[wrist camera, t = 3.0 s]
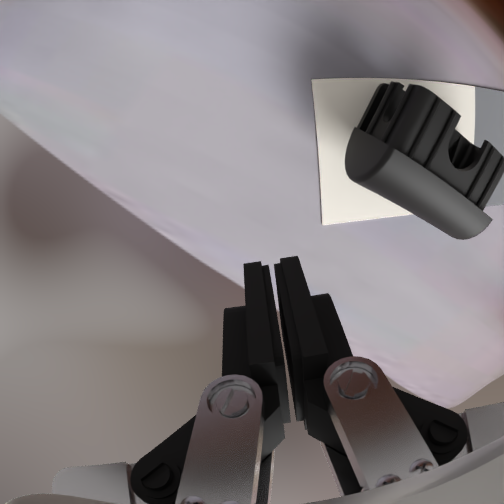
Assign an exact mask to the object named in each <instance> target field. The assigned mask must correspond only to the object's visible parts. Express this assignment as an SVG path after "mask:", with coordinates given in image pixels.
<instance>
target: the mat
mask: <svg viewBox="0 0 504 504" xmlns="http://www.w3.org/2000/svg"><path fill="white" fill-rule="evenodd" d="M484 140H487V141H489V142H490V143H491V144H492V145H493V146H494V147H495V148H496V149H497V150H498V151H499V152H500V153H501V154H502V155H503V157H504V92H503V91H498V90H492V89H487V88H481V87H475V134H474V145H475V146H477V147H479V148H481V146H482V144H483V142H484ZM495 205H504V173H503V175H502V177H501V179H500V181H499V183H498V185H497V186H496V188H495V190H494V192H493V194H492V196H491V197H490V199H489V201H488V203H487V204H486V206H495Z"/></svg>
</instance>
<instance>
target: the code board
mask: <svg viewBox="0 0 504 504" xmlns="http://www.w3.org/2000/svg"><path fill="white" fill-rule="evenodd" d="M391 81H393V82H400V83H401V84H403V85H404V88H403V90H404V91H406V89H407V87H408V85H409V84H415V85H420V86H423V87H425V88H427V89H429V90H430V91H432V92H433V93H434V94H436V95H437V96H438V97H439V98H441V99H442V100H443V101H444V102H446V103H447V104H448V105H449V106H450V107H452V108H453V109H454V110H455V111H456V112H457V113H459V114H460V115H461V118H460V120H459V122H458V124H457V126H456V128H455V129H456V130H457V131H458V132H459V133H460V134H461V135H463V136H464V137H465V138H466V139H467V140H468V141H469V142H471V143H472V144H473V145H474V134H475V86H468V85H461V84H453V83H445V82H435V81H424V80H410V79H390V78H332V79H311V82H312V91H313V100H314V110H315V121H316V132H317V144H318V157H319V172H320V189H321V209H322V225H329V224H337V223H345V222H353V221H362V220H370V219H378V218H386V217H395V216H403V215H412V213H411V212H409V211H407V210H405V209H404V208H402V207H400V206H398V205H396V204H395V203H393V202H391V201H389V200H387V199H385V198H383V197H382V196H380V195H378V194H376V193H374V192H372V191H370V190H368V189H366V188H364V187H362V186H360V185H358V184H357V183H355V182H353V181H352V180H350V179H349V177H348V176H347V174H346V170H345V153H346V148H347V145H348V141H349V139H350V136H351V133H352V131H353V129H354V127H356V128H357V126H358V124H359V122H360V120H361V118H362V116H363V114H364V112H365V110H366V108H367V106H368V104H369V102H370V100H371V98H372V96H373V94H374V92H375V90H376V88H377V87H378V86H379V85H380V84H382V83H387V84H390V82H391Z"/></svg>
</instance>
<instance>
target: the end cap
mask: <svg viewBox="0 0 504 504" xmlns="http://www.w3.org/2000/svg"><path fill="white" fill-rule="evenodd" d="M403 88H404V85H403V84H401V83H400V82H393V81H391V82H390V84H387V83H382V84H380V85H379V86H378V87H377V88H376V90H375V92H374V94H373V96H372V98H371V100H370V102H369V104H368V106H367V108H366V110H365V112H364V114H363V116H362V118H361V120H360V122H359V124H358V126H357V128H356V127H354V129H353V131H352V133H351V136H350V139H349V141H348V145H347V148H346V153H345V170H346V174H347V176H348V177H349V179H350V180H352V181H353V182H355V183H357V184H358V185H360V186H362V187H364V188H366V189H368V190H370V191H372V192H374V193H376V194H378V195H380V196H382V197H383V198H385V199H387V200H389V201H391V202H393V203H395V204H396V205H398V206H400V207H402V208H404V209H405V210H407V211H409V212H411V213H412V214H414V215H416V216H418V217H419V218H421V219H423V220H425V221H426V222H428V223H430V224H431V225H433V226H435V227H436V228H438V229H440V230H441V231H443V232H445V233H446V234H448V235H449V236H451V237H453V238H456V239H462V240H464V239H470V238H472V237H475V236H477V235H478V234H480V233H481V232H482V231H484V230H485V229H486V228H487V227H488V225H489V224H490V222H491V221H492V220H493V219H492V218H490V217H489V216H488V215H487V214H486V213H484V212H483V210H484V208H485V206H486V204H487V203H488V201H489V199H490V197H491V196H492V194H493V192H494V190H495V188H496V186H497V185H498V183H499V181H500V179H501V177H502V175H503V173H504V157H503V155H502V154H501V153H500V152H499V151H498V150H497V149H496V148H495V147H494V146H493V145H492V144H491V143H490V142H489V141H487V140H484V142H483V144H482V146H481V148H479V147H477V146H475V145H473V144H472V143H471V142H469V141H468V140H467V139H466V138H465V137H464V136H463V135H461V134H460V133H459V132H458V131H457V130H456V129H455V128H456V126H457V124H458V122H459V120H460V118H461V115H460V114H459V113H457V112H456V111H455V110H454V109H453V108H452V107H450V106H449V105H448V104H447V103H446V102H444V101H443V100H442V99H441V98H439V97H438V96H437V95H436V94H434V93H433V92H432V91H430V90H429V89H427V88H425V87H423V86H420V85H415V84H409V85H408V87H407V89H406V91H404V90H403Z"/></svg>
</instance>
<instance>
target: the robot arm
mask: <svg viewBox="0 0 504 504" xmlns="http://www.w3.org/2000/svg"><path fill="white" fill-rule="evenodd" d="M274 269H275V277H276V285H277V294H278V303H279V311H280V319H281V329H282V336H283V342H284V348H285V353H286V360H287V365H288V371H289V377H290V384H291V389H292V396H293V402H294V409H295V415H296V420H297V421H303V420H304V425H305V430H308V434H309V435H310V436H312V437H314V438H316V439H317V440H319V441H320V443H321V447H322V450H323V452H324V455H325V457H326V460H327V462H328V465H329V468H330V470H331V473H332V475H333V478H334V480H335V483H336V485H337V488H338V491H339V493H340V496H341V497H338V498H333V499H329V500H323V501H318V502H311V503H306V504H504V402H501V403H497V404H492V405H487V406H482V407H476V408H471V409H465V411H464V412H463V413H459V414H457V413H455V412H453V411H451V410H449V409H446V408H444V407H441V406H439V405H436V404H433V403H431V402H428V401H426V400H423V399H421V398H418V397H416V396H414V395H411V394H409V393H406V392H404V391H401V390H399V389H396V388H394V387H392V386H391V384H390V383H389V381H388V379H387V378H386V376H385V375H384V373H383V371H382V370H381V369H380V367H379V366H378V365H377V364H376V363H374V362H373V361H371V360H369V359H366V358H363V357H353V355H352V352H351V349H350V347H349V344H348V341H347V338H346V336H345V333H344V330H343V328H342V325H341V322H340V320H339V317H338V314H337V312H336V309H335V307H334V304H333V301H332V299H331V297H330V295H329V294H328V293H327V294H321V295H315V296H311V295H310V292H309V289H308V286H307V283H306V280H305V277H304V273H303V270H302V267H301V264H300V261H299V258H298V256H294V257H287V258H280V263H278V264H274ZM244 283H245V303H246V306H240V307H232V308H225V309H224V321H223V358H222V359H223V360H222V377H220V378H218V379H216V380H214V381H213V382H211V383H210V384H209V385H208V386H207V387H206V388H205V389H204V391H203V393H202V396H201V399H200V402H199V406H198V410H197V414H196V415H195V416H194V417H193V418H192V419H190V420H189V421H188V422H187V423H186V424H184V425H183V426H182V427H181V428H179V429H178V430H177V431H176V432H174V433H173V434H172V435H171V436H170V437H168V438H167V439H166V440H164V441H163V442H162V443H161V444H159V445H158V446H157V447H155V448H154V449H153V450H152V451H151V452H149V453H148V454H146V455H145V456H144V457H142V458H141V459H140V460H139V461H138V462H137V463H134V464H128V463H126V462H120V463H112V464H103V465H92V466H77V467H67V468H63V469H62V470H60V471H59V472H58V473H57V474H56V476H55V477H54V479H53V484H52V494H31V495H25V496H21V497H18V498H15V499H12V500H10V501H8V502H7V503H5V504H270V500H271V489H272V478H273V465H274V453H275V452H274V449H275V448H276V447H277V446H278V445H279V444H280V443H281V441H282V440H283V439H284V438H285V435H284V425H283V423H290V422H291V420H290V410H289V402H288V401H289V400H288V390H287V382H286V372H285V363H284V355H283V349H282V343H281V337H280V331H279V325H278V319H277V312H276V306H275V300H274V294H273V288H272V282H271V276H270V270H269V265H264V266H262V265H261V261H260V262H253V263H246V264H244Z"/></svg>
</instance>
